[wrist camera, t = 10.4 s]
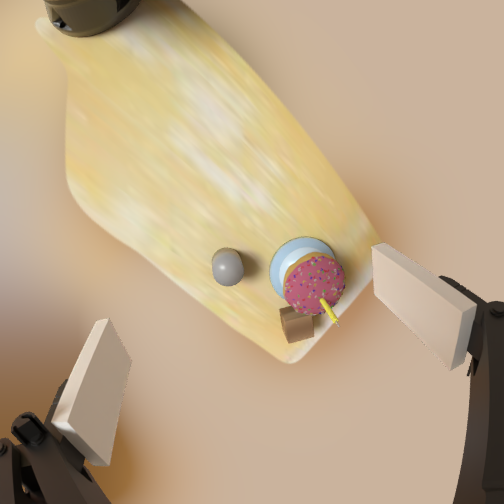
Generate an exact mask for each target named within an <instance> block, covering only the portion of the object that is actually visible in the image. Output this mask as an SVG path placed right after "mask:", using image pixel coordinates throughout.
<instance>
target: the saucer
mask: <svg viewBox="0 0 504 504" xmlns="http://www.w3.org/2000/svg"><path fill="white" fill-rule="evenodd" d="M311 252H320V253H326V254H328V255H330V256H331V257H333V258H334V259H335V257H334V254H333V252H332V251H331V249H330V248H329V247H328V246H327V245H326V244H324V243H323V242H322V241H320V240H318V239H316V238H312V237H298V238H295V239H292V240H290V241H288V242H286V243H285V244H284V245H282V246H281V247H280V248H279V249H278V250H277V252H276V253H275V255H274V256H273V258H272V261H271V264H270V269H269V276H270V281H271V283H272V286H273V288H274V289H275V291H276V292H277V294H278V295H279V296H281V297H282V298H283V299H285V298H284V296H283V281H284V276H285V273H286V271H287V269H288V267H289V266H290V265H292V264H293V263H295V262H296V261H297V260H298V259H299V258H301V257H303V256H304V255H306V254H308V253H311ZM285 300H286V299H285Z"/></svg>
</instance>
